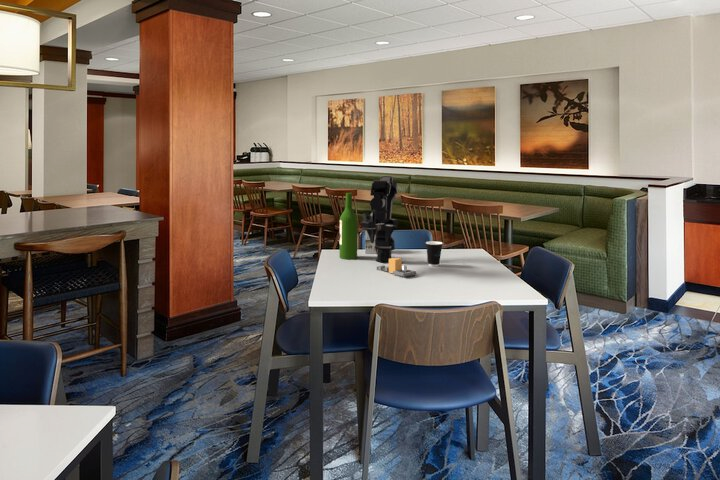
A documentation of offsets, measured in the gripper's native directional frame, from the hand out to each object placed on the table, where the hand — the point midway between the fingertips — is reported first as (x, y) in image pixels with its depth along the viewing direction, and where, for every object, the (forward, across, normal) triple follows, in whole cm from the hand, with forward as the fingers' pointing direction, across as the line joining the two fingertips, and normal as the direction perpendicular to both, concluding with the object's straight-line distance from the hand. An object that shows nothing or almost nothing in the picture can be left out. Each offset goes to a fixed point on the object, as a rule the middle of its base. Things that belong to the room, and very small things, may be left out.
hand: (379, 242), depth 236 cm
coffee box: (+12, -24, -31) cm, 41 cm away
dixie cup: (+12, -24, +12) cm, 29 cm away
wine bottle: (+12, -4, -27) cm, 30 cm away
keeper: (+12, +2, +18) cm, 22 cm away
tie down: (+12, +2, +12) cm, 17 cm away
